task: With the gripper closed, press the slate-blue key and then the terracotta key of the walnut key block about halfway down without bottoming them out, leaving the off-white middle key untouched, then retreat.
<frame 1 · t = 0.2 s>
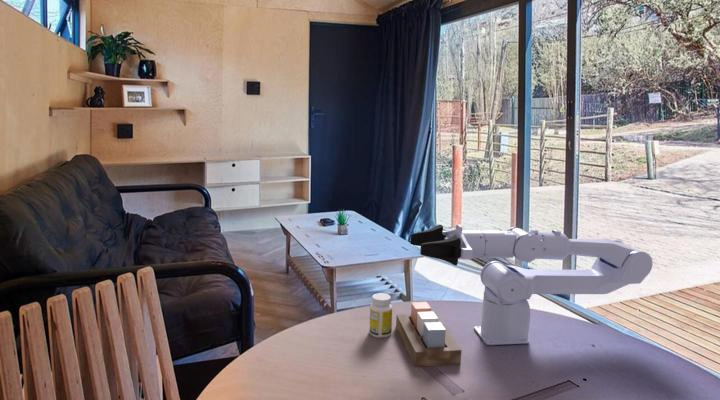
hand: (415, 244, 105), 21 cm above the table, tool horizontal, fingers open, 7 cm apart
blue key: (432, 356, 103), resting on key block, slide at 0.0 cm
key block: (425, 344, 108), on the table
supplement bottle: (380, 333, 112), on the table
red key: (419, 333, 113), resting on key block, slide at 0.0 cm
white key: (425, 344, 108), resting on key block, slide at 0.0 cm
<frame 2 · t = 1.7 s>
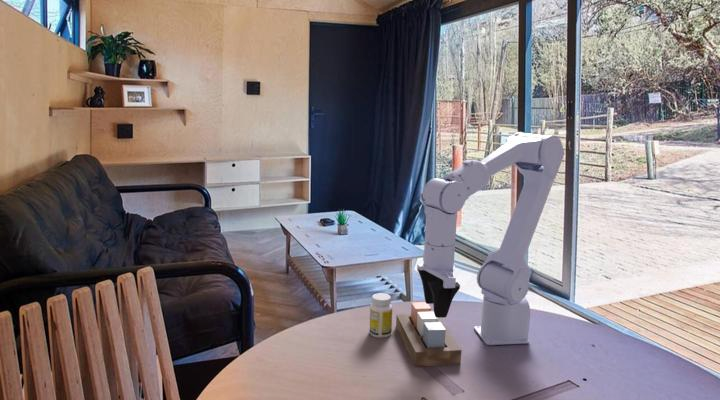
hand: (435, 309, 101), 10 cm above the table, tool pointing down, fingers open, 6 cm apart
nothing on the table moved.
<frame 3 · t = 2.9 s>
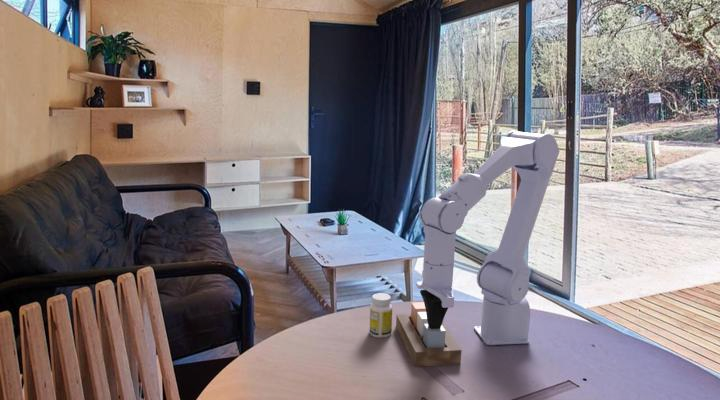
hand: (434, 327, 102), 6 cm above the table, tool pointing down, fingers closed, pressing on blue key
blue key: (432, 357, 103), resting on key block, slide at 0.3 cm, touching gripper
everything else where it was.
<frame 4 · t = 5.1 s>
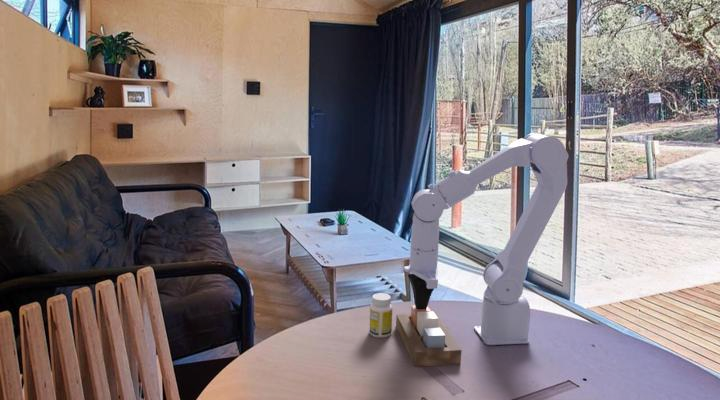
hand: (420, 308, 111), 6 cm above the table, tool pointing down, fingers closed, pressing on red key
blue key: (432, 362, 103), resting on key block, slide at 1.2 cm
red key: (419, 336, 113), resting on key block, slide at 0.6 cm, touching gripper
everything else where it was.
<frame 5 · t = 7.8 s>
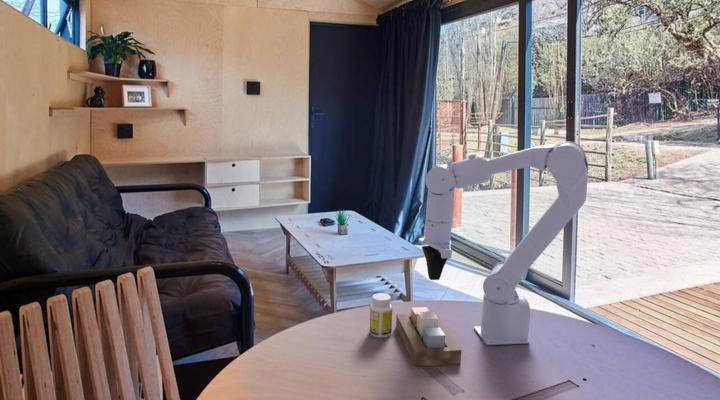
hand: (434, 278, 116), 10 cm above the table, tool pointing down, fingers closed
red key: (419, 338, 113), resting on key block, slide at 1.2 cm
everything else where it was.
at the end: blue key slide at 1.2 cm; red key slide at 1.2 cm; white key slide at 0.0 cm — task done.
